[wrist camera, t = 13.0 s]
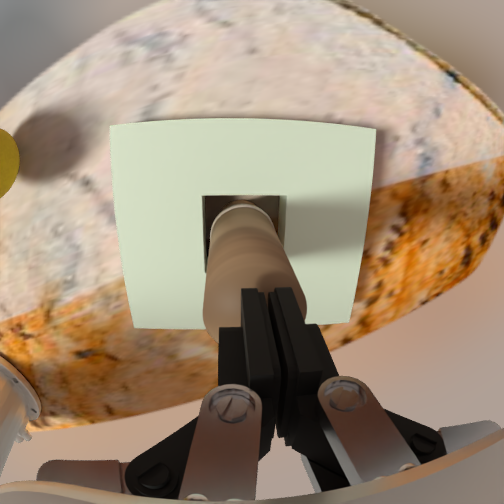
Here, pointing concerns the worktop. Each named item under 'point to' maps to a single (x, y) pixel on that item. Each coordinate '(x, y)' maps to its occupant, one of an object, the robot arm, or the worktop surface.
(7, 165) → the lemon
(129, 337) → the worktop surface
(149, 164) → the board
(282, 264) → the peg
